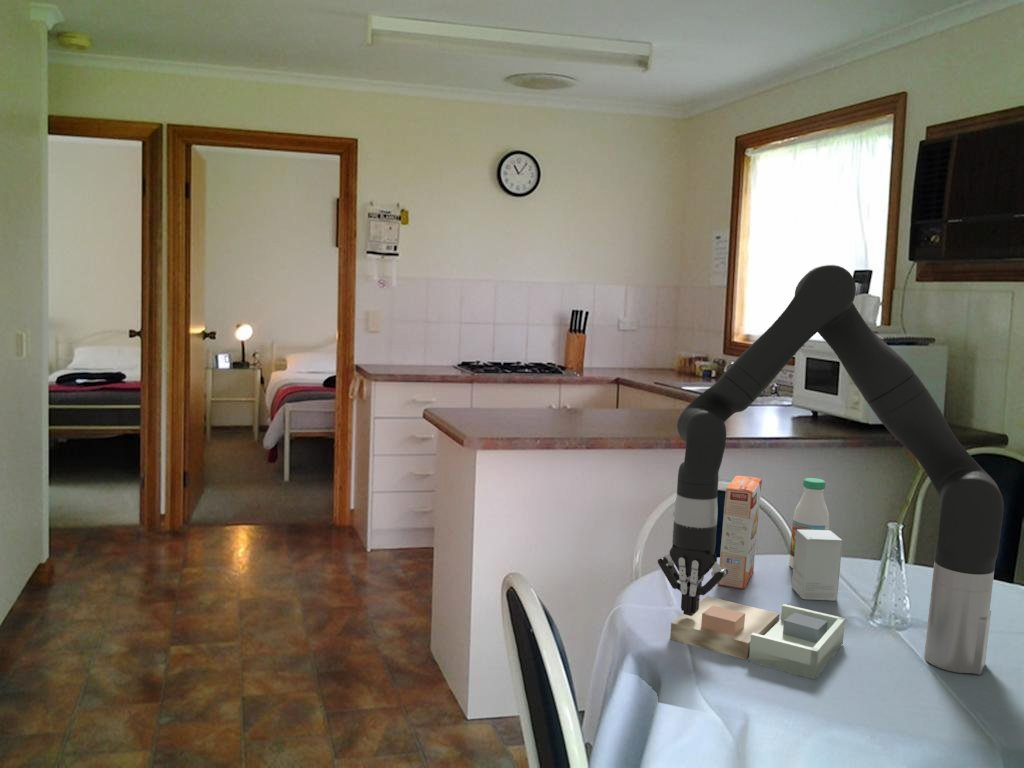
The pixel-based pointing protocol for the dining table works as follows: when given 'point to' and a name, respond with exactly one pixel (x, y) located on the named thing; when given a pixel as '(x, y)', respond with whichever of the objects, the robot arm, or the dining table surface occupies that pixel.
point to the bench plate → (737, 646)
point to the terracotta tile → (723, 620)
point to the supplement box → (817, 564)
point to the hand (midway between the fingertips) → (689, 613)
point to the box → (797, 645)
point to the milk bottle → (809, 511)
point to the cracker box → (740, 530)
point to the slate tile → (805, 627)
